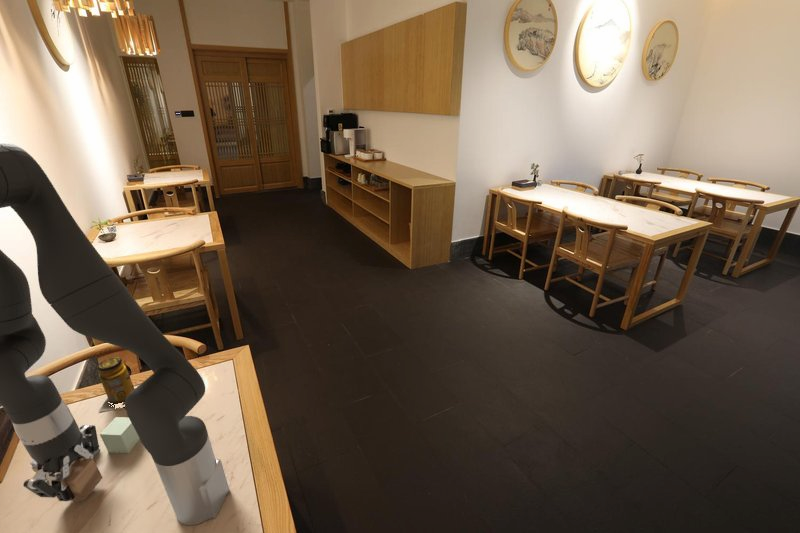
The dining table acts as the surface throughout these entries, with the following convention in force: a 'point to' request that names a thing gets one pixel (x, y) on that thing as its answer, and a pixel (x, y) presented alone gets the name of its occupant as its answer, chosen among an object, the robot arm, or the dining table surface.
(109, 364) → the condiment
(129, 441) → the sage block
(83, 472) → the walnut block
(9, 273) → the robot arm
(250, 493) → the dining table surface
